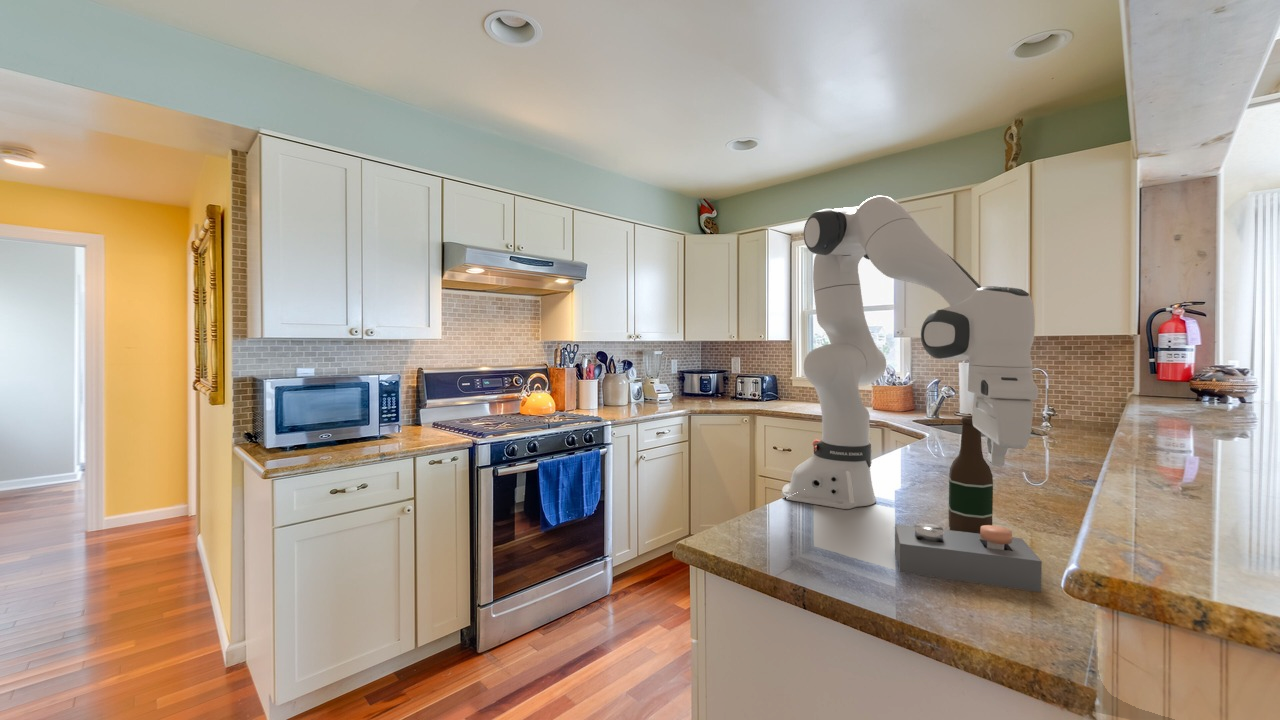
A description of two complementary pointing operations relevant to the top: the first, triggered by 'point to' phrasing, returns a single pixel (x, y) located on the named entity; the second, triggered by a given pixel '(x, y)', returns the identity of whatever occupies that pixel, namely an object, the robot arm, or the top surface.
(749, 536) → the top surface
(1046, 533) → the top surface
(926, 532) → the grey mushroom plug
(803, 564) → the top surface
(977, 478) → the beer bottle
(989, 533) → the mushroom push button
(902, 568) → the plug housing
